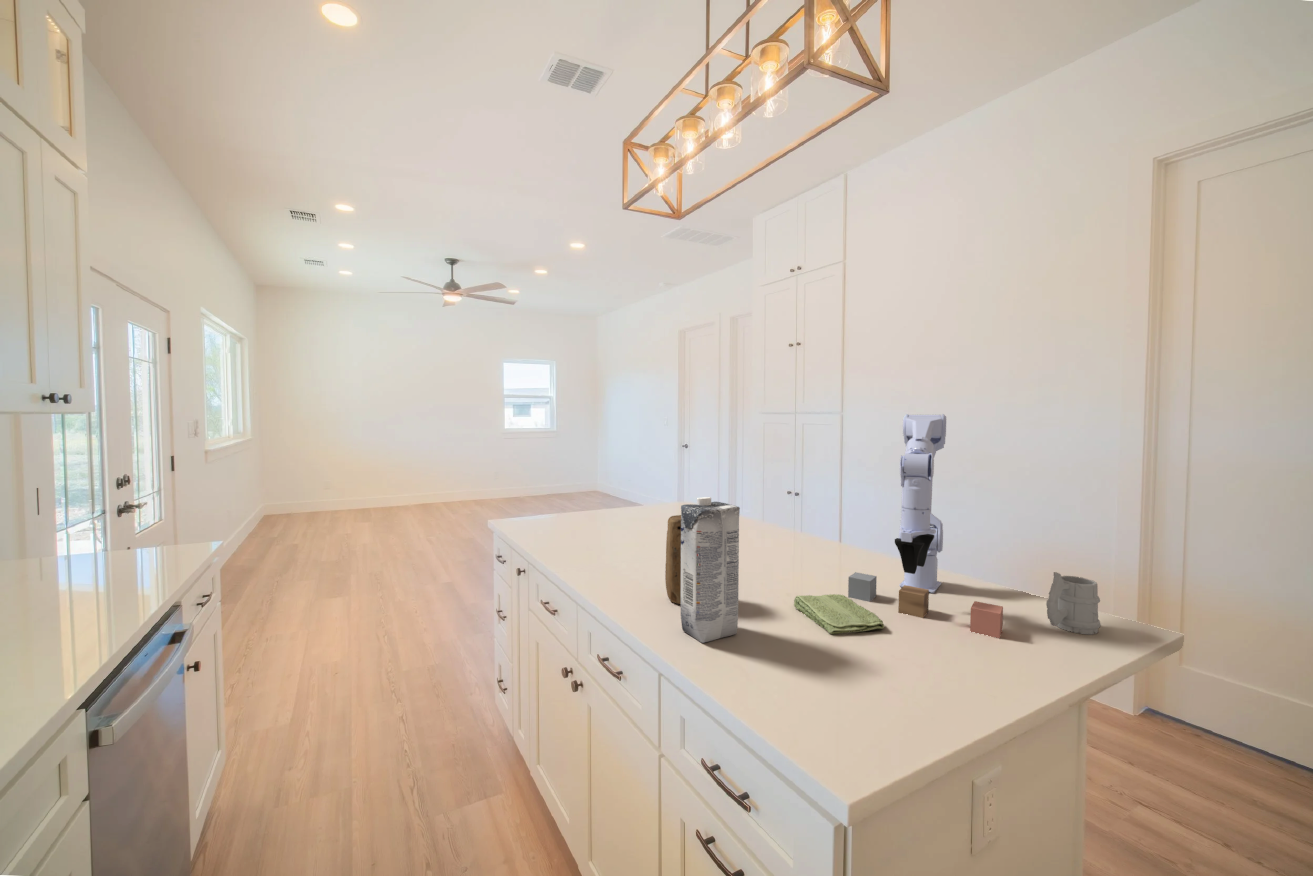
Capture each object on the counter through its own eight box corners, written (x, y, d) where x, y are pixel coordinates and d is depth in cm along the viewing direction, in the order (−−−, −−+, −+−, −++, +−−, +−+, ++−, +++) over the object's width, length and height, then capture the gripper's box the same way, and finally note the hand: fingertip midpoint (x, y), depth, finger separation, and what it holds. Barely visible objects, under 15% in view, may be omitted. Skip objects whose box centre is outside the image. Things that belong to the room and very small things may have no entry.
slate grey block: (855, 592, 130) (855, 572, 130) (876, 596, 127) (876, 576, 127) (848, 597, 126) (848, 577, 126) (869, 602, 123) (870, 581, 123)
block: (669, 606, 119) (669, 519, 119) (663, 595, 127) (664, 513, 126) (715, 604, 121) (716, 518, 120) (707, 593, 128) (708, 512, 128)
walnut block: (904, 606, 120) (904, 585, 120) (928, 611, 117) (928, 589, 117) (898, 613, 116) (898, 590, 116) (923, 618, 113) (923, 595, 113)
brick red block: (973, 624, 110) (974, 601, 110) (1002, 630, 107) (1003, 606, 106) (970, 632, 106) (970, 607, 106) (999, 639, 103) (1000, 613, 103)
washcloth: (830, 639, 103) (830, 623, 103) (789, 607, 120) (790, 593, 120) (889, 634, 106) (890, 618, 106) (841, 603, 123) (842, 589, 123)
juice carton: (744, 635, 104) (745, 499, 103) (701, 647, 98) (701, 504, 97) (716, 620, 112) (717, 493, 110) (675, 630, 106) (675, 497, 105)
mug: (1109, 632, 106) (1111, 573, 105) (1068, 640, 102) (1070, 579, 102) (1069, 618, 113) (1071, 563, 112) (1029, 625, 109) (1031, 568, 109)
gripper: (927, 514, 108) (926, 580, 108) (943, 506, 119) (941, 565, 119) (891, 510, 112) (890, 573, 112) (909, 502, 123) (908, 560, 124)
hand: (914, 569), depth 116 cm, fingers open, 7 cm apart
